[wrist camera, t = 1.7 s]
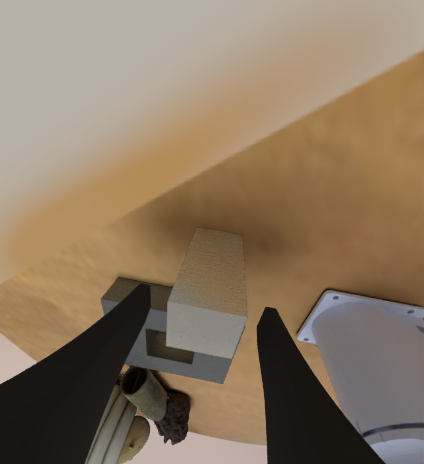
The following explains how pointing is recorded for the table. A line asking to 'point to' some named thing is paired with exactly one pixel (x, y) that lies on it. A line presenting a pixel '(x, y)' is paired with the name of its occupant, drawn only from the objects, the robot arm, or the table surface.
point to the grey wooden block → (209, 296)
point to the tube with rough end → (157, 403)
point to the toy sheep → (118, 432)
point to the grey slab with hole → (164, 338)
